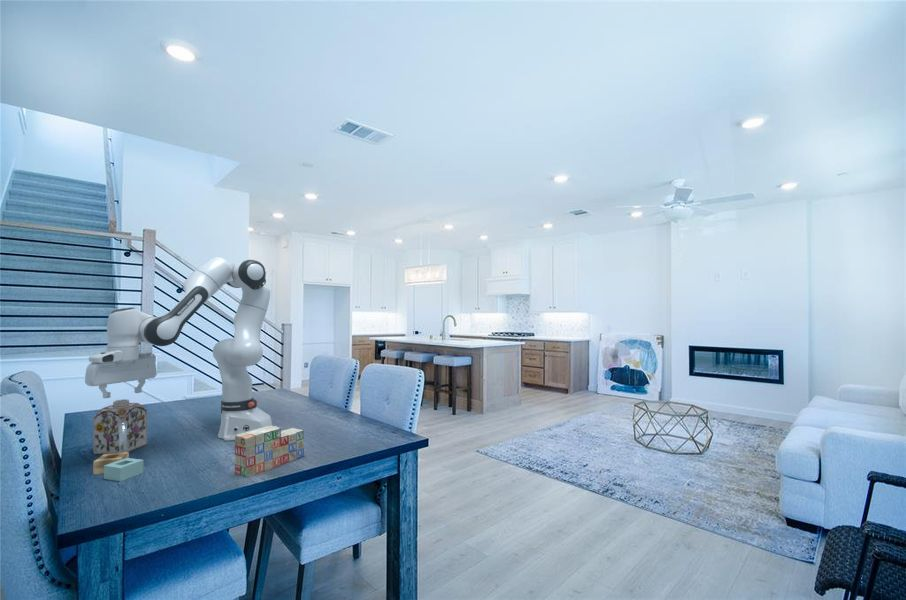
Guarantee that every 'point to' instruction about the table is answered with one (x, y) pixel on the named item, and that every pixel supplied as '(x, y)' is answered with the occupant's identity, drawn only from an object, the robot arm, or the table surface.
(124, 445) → the steel needle peg
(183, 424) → the table surface
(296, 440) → the stack of blocks
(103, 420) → the decorative jar
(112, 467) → the green block with hole
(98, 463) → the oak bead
